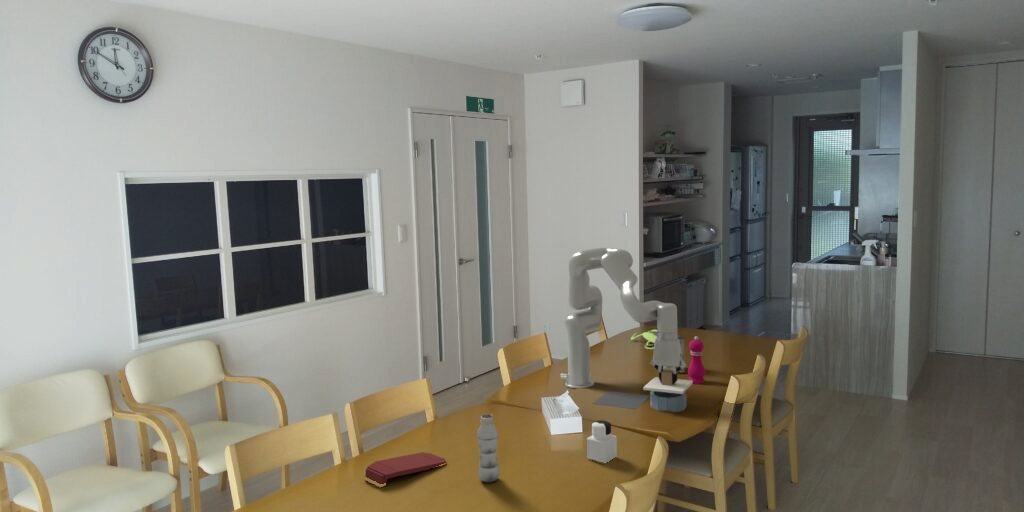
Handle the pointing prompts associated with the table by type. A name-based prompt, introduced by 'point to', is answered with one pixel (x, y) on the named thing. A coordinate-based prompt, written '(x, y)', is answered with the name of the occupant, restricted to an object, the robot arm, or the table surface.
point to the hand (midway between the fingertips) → (668, 382)
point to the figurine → (647, 337)
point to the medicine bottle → (601, 442)
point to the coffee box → (681, 353)
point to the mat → (621, 400)
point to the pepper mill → (696, 362)
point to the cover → (668, 384)
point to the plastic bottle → (488, 449)
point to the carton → (402, 466)
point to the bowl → (668, 401)
